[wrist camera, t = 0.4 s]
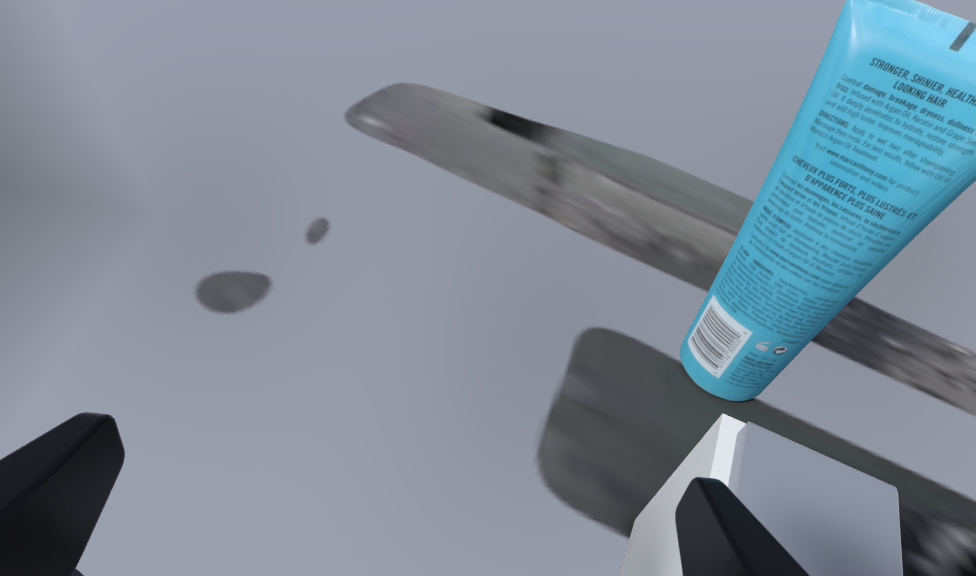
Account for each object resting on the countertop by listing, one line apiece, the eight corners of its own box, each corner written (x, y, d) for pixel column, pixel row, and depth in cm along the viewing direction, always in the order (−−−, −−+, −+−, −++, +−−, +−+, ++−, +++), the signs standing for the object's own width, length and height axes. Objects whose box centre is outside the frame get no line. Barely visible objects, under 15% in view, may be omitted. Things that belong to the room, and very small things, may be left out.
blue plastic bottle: (794, 376, 32) (1101, 41, 18) (769, 433, 29) (1112, 86, 15) (677, 308, 35) (867, -30, 21) (643, 354, 32) (838, -3, 18)
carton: (740, 727, 20) (932, 678, 13) (598, 646, 21) (703, 561, 14) (757, 581, 24) (915, 480, 17) (635, 519, 25) (733, 400, 18)
